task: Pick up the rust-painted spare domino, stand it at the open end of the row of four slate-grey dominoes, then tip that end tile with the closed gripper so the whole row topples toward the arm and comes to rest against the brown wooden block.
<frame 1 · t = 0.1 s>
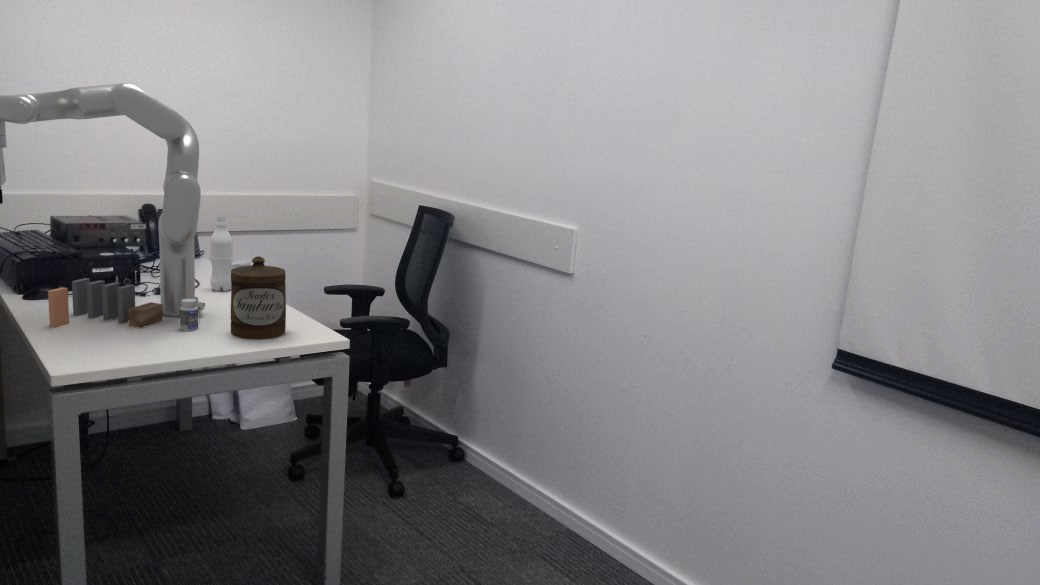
domino a: (82, 313, 225), on the table
domino c: (112, 318, 223), on the table
domino b: (97, 315, 224), on the table
water bottle: (221, 290, 266), on the table
brown wooden block: (146, 323, 220), on the table
spare domino: (59, 324, 212), on the table
domino d: (127, 320, 222), on the table
pill bottle: (189, 329, 218), on the table
wooden container: (258, 333, 220), on the table
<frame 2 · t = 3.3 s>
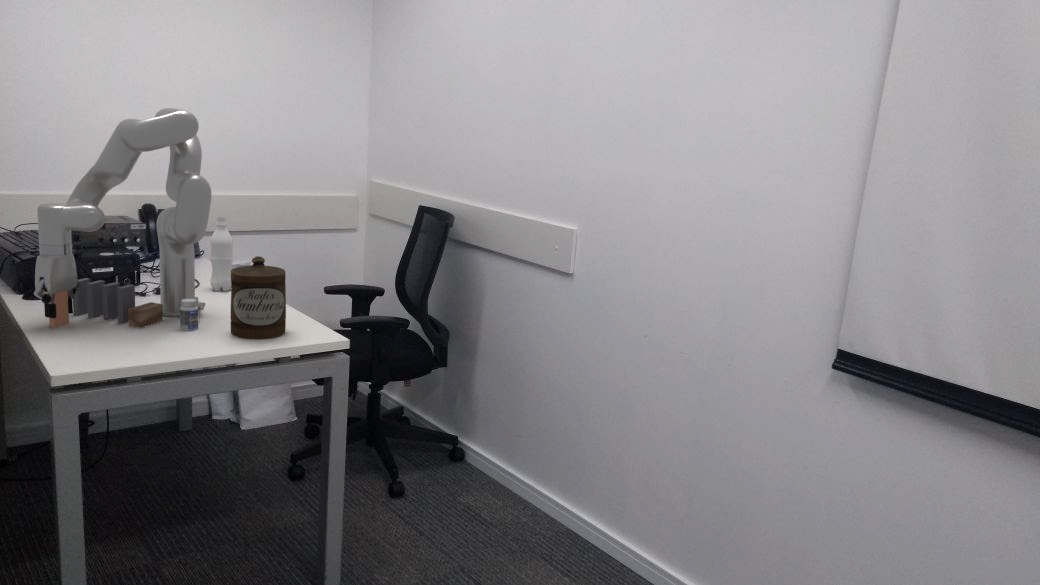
hand: (59, 314, 212), 3 cm above the table, tool pointing down, fingers closed on spare domino, 4 cm apart
spare domino: (59, 324, 212), on the table, touching gripper
everything else where it was.
when the fingers open (3 cm above the table, at t = 9.1 s): spare domino stays where it is, on the table.
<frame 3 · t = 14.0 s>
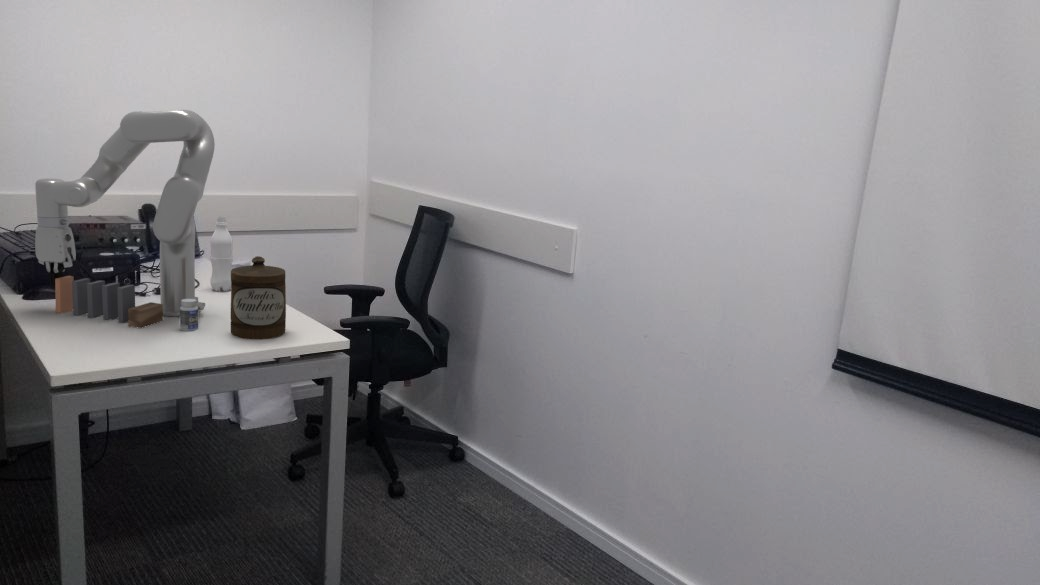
hand: (56, 285, 225), 7 cm above the table, tool pointing down, fingers closed
spare domino: (64, 310, 226), on the table, touching gripper
everything else where it was.
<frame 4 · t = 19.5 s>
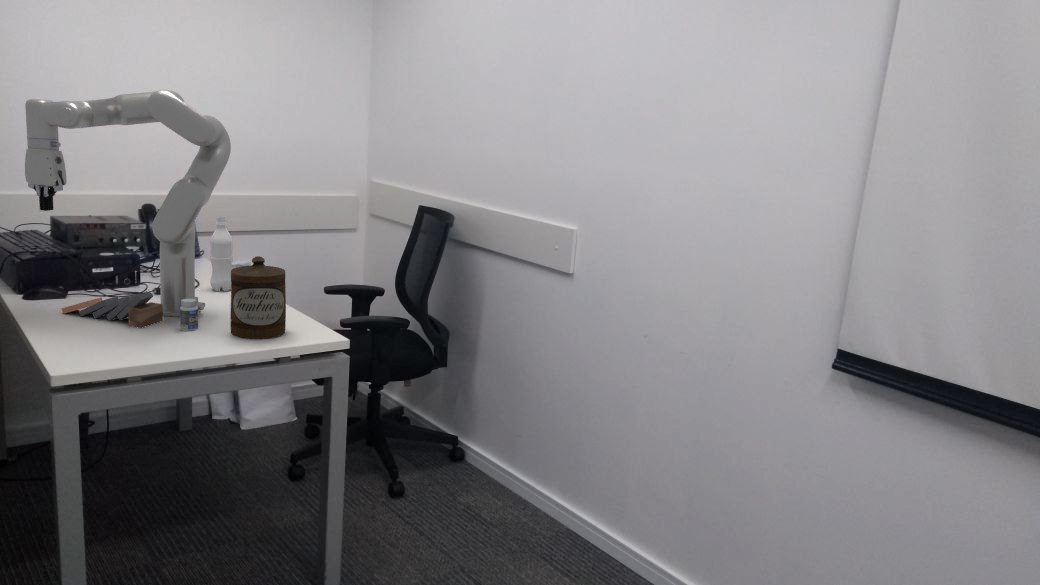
hand: (46, 210, 221), 29 cm above the table, tool pointing down, fingers closed
domino a: (86, 312, 224), point 1 cm above the table, tilted 63°, touching domino b, spare domino
domino c: (114, 316, 222), point 1 cm above the table, tilted 48°, touching domino b, domino d
domino b: (100, 314, 223), point 1 cm above the table, tilted 58°, touching domino a, domino c
spare domino: (68, 309, 225), point 1 cm above the table, tilted 69°, touching domino a
domino d: (124, 316, 221), point 1 cm above the table, tilted 46°, touching brown wooden block, domino c
everything else where it was.
at the end: domino d tilted 46°; spare domino tilted 69°; spare domino inside the target area (1.0 cm from its centre), point 0.7 cm above the table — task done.
